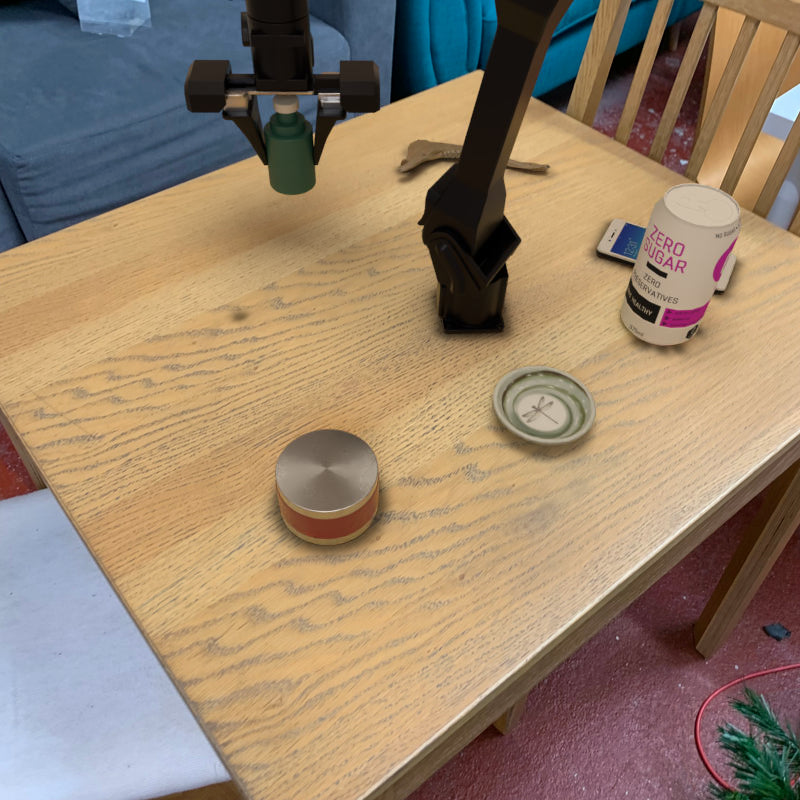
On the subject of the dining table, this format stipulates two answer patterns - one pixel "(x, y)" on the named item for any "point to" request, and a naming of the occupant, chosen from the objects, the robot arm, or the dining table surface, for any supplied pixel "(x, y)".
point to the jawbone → (448, 155)
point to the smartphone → (626, 244)
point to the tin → (327, 486)
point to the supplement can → (680, 263)
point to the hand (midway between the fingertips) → (291, 163)
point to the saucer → (544, 405)
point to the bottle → (289, 148)
